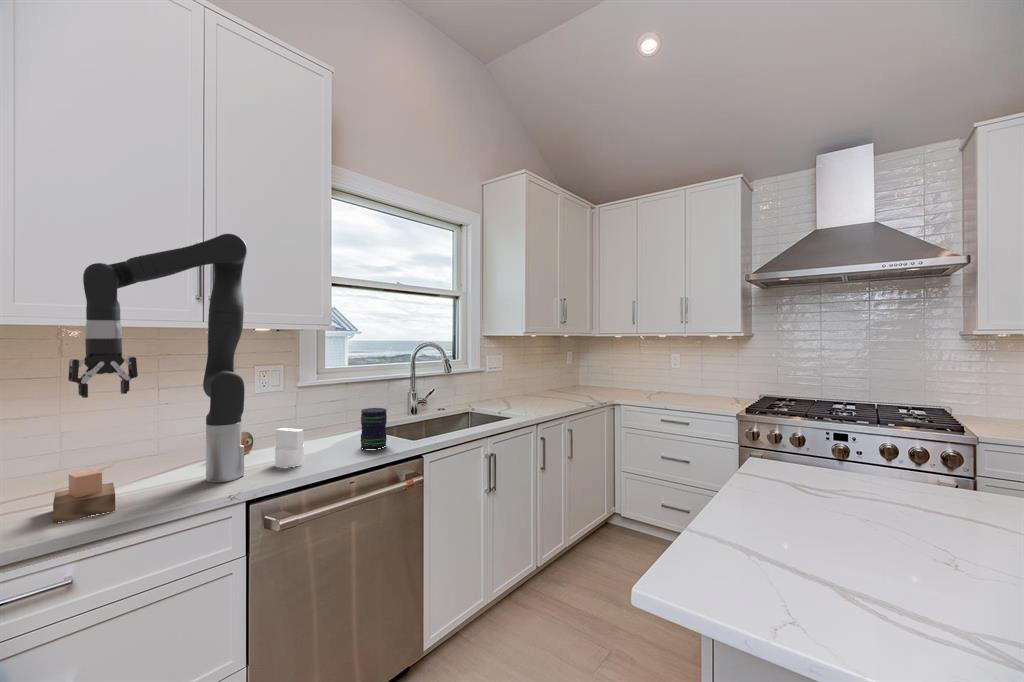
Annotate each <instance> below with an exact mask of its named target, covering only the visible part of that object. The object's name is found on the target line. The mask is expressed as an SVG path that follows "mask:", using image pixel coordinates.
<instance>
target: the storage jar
mask: <svg viewBox="0 0 1024 682" xmlns="http://www.w3.org/2000/svg"><path fill="white" fill-rule="evenodd" d="M360 413H361V415H360V416H361V417H360V424H361V434H360V445H361V447H360V449H361V448H363V449H378V448H382V447H384V446H386V447H387V439H388V438H387V427H386V426H387V419H388V417H387V409H386V408H383V407H369V408H362V409H361V411H360Z"/></svg>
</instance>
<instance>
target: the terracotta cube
mask: <svg viewBox="0 0 1024 682" xmlns="http://www.w3.org/2000/svg"><path fill="white" fill-rule="evenodd" d="M102 484H103V472H102V471H100V470H98V469H96V468H93V469H92V468H91V469H87V470H82V471H76V472H71V473H68V490H69V494H70V495H72V496H73V497H75V498H77V497H82V496H86V495H91V494H95V493H100V492H102Z"/></svg>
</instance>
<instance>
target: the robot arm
mask: <svg viewBox="0 0 1024 682" xmlns="http://www.w3.org/2000/svg"><path fill="white" fill-rule="evenodd" d="M247 254H248V246H247V244H246V242H245V240H244V239H242V238H241V237H240V236H238V235H236V234H235V233H234V234H233V233H222V234H221V235H218V236H215V237H212V238H210V239H207V240H204V241H201V242H199V243H196V244H195V243H194V244H191V245H187V246H184V247H179V248H175V249H168V250H164V251H158V252H153V253H148V254H143V255H138V256H134V257H131V258H128V259H126V260H125V261H120V262H114V263H111V264H107V263H102V262H95V263H92V264H90V265H88V266H87V267H86V268H85V270H83V276H82V282H83V290H84V295H85V296H84V297H85V300H86V307H85V316H86V317H85V318H86V319H85V320H86V322H85V328H84V329H85V330H84V334H85V339H84V340H85V345H84V346H85V357H84V358H83V359H77V358H72V359H70V360H69V363H68V365H69V366H68V377H67V378H68V379H67V380H68V381H69V382H72V383H76V384H78V391H77V392H78V395H79V396H81V398H84V399H85V398H88V397H89V383H87V382H88V381H89V380H90V379H92V378H93V377H94V376H95V375H104V374H116V375H117V377H119V378H120V379H121V380H120V394H122V395H125V394H128V392H130V380H132V379H134V378H135V379H136V378H137V377H138V375H139V373H138V364H137V363H138V362H137V358H136V357H135V356H128V357H123V333H122V332H123V331H122V330H123V329H122V323H121V305H120V302H119V300H118V289H121V288H125V287H129V286H131V285H134V284H137V283H141V282H143V283H144V282H147V281H152V280H157V279H160V278H165V277H169V276H173V275H175V274H178V273H181V272H184V271H188V270H190V269H193V268H198V267H201V266H206V265H213V269H214V273H213V274H214V279H213V280H214V281H213V287H212V291H211V295H210V299H209V300H210V301H209V305H208V317H207V318H208V321H207V327H208V328H207V359H206V365H205V369H204V376H203V380H202V383H203V384H202V388H203V391H204V393H205V395H206V396H207V397H209V398H210V399H209V400H210V401H209V411H208V413H207V415H206V417H205V481H206V482H208V483H226V482H231V481H234V480H237V479H239V478H240V477H243V476H245V455H244V446H243V445H241V432H242V415H243V414H244V410H245V409H244V408H245V391H246V389H245V383H244V380H243V378H242V376H240V375H239V374H238V373H236V372H235V369H234V367H235V366H234V365H235V359H234V358H235V353H236V350H237V347H238V344H239V342H240V339H241V335H242V332H243V330H244V329H243V327H244V315H245V314H244V313H245V312H244V309H245V308H244V297H243V296H244V295H243V288H242V280H243V270H244V264H245V260H246V258H247ZM124 363H125V365H127V369H128V371H127V373H128V374H127V373H126V371H125V370H124V369H123V368H122V367H121V366H122V364H124ZM83 365H85V367H87V368H86V370H85V371H83V373H82V375H81V376H80V377H79V372H80V371H79V368H81V367H82V366H83Z"/></svg>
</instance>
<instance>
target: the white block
mask: <svg viewBox="0 0 1024 682" xmlns="http://www.w3.org/2000/svg"><path fill="white" fill-rule="evenodd" d="M275 435H276V436H275V437H276V438H275V447H274V467H275V466H276V467H275V468H277V467H280V468H279V469H284V468H283V467H293V466H296V465H300V464H302V463H303V462H304V463H305V445H304V429H303V428H302V429H301V428H300V429H299V428H288V427H282V428H281V427H280V428H277V429H276V430H275ZM281 467H282V468H281ZM293 468H294V467H293Z"/></svg>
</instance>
